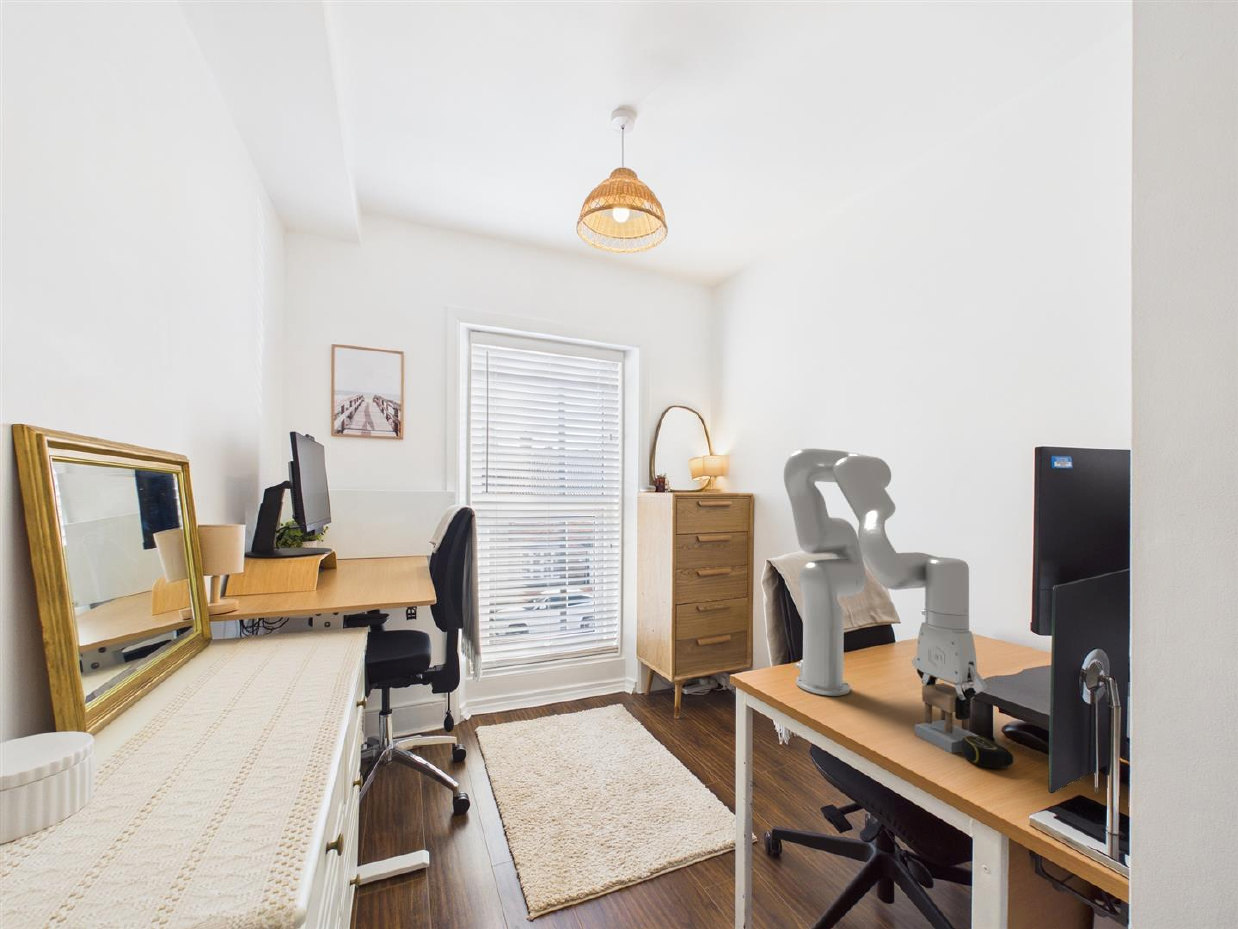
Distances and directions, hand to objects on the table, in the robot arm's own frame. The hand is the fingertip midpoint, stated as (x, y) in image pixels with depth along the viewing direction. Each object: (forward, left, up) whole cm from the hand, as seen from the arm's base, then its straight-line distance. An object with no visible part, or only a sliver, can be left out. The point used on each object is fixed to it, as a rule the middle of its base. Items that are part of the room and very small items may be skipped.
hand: (946, 711), depth 107 cm
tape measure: (+8, 0, -6) cm, 10 cm away
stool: (0, 0, -3) cm, 3 cm away
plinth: (0, 0, -6) cm, 6 cm away
